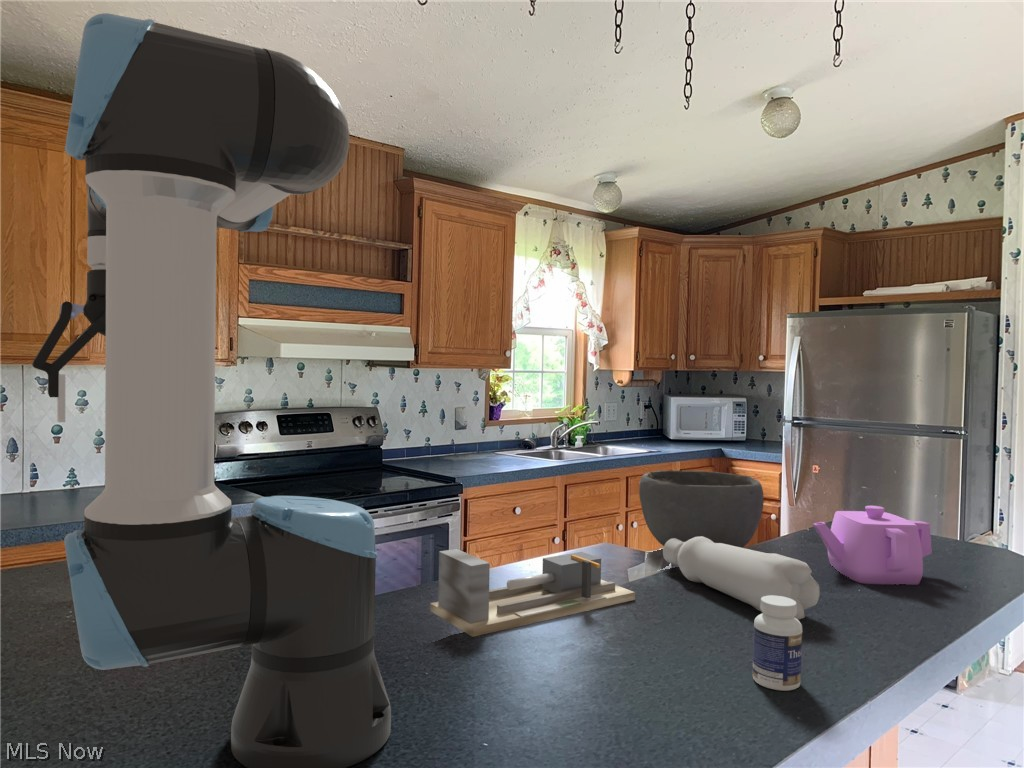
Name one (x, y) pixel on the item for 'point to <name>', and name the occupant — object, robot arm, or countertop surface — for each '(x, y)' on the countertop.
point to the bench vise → (506, 598)
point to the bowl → (701, 506)
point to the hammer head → (586, 579)
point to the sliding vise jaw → (561, 573)
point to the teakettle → (876, 546)
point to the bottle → (744, 572)
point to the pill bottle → (777, 644)
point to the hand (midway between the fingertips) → (117, 420)
